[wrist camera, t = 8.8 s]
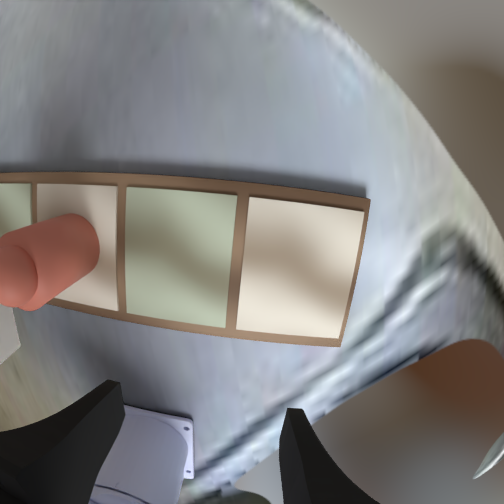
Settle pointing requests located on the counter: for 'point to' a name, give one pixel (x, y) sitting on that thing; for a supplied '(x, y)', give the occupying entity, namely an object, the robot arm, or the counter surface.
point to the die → (8, 333)
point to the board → (205, 251)
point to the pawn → (45, 260)
